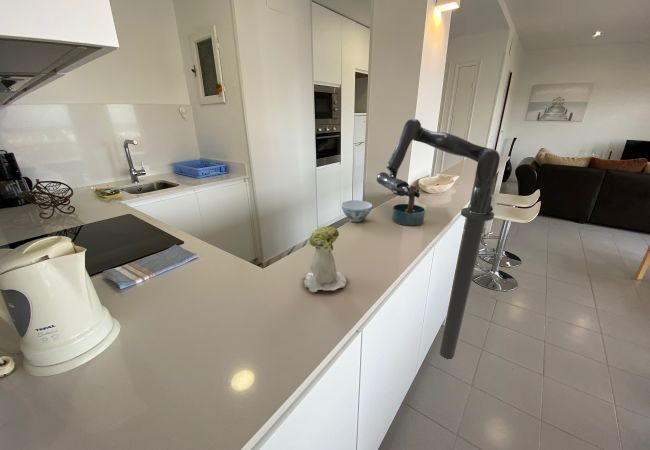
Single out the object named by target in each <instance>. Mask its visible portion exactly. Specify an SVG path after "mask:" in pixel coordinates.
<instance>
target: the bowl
mask: <svg viewBox="0 0 650 450" xmlns="http://www.w3.org/2000/svg"><path fill="white" fill-rule="evenodd" d="M406 209H408V203H398V204H394V205H393V206H392V213H391V219H392V221H393V222H394V223H396V224H398V225H402V226H408V227H414V226H421V225H422V224H423V223H424V222H425V218H426V208H425V207H423V206H421V205H417V204H414V207H413V210H415V213H406V212H405V210H406Z"/></svg>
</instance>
